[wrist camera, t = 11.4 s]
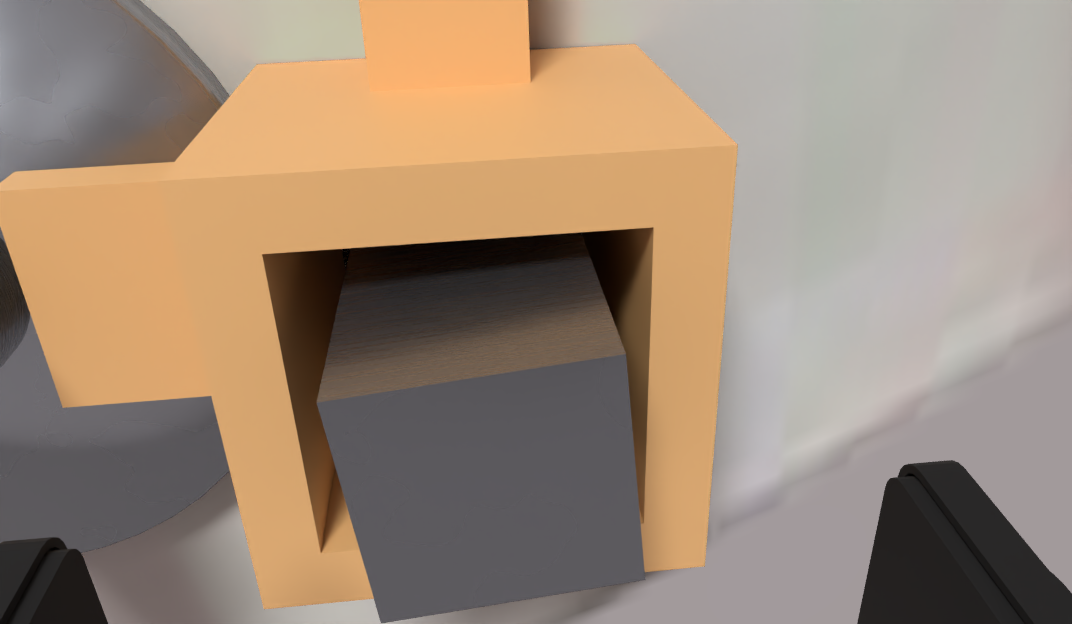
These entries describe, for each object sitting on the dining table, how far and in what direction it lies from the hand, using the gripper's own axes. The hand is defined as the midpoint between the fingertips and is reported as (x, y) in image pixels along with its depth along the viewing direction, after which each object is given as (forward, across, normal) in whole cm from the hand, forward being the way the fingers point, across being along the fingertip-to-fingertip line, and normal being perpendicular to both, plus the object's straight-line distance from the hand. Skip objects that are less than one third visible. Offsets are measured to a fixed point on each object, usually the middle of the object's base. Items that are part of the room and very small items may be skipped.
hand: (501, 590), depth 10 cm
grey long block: (+12, 0, 0) cm, 12 cm away
